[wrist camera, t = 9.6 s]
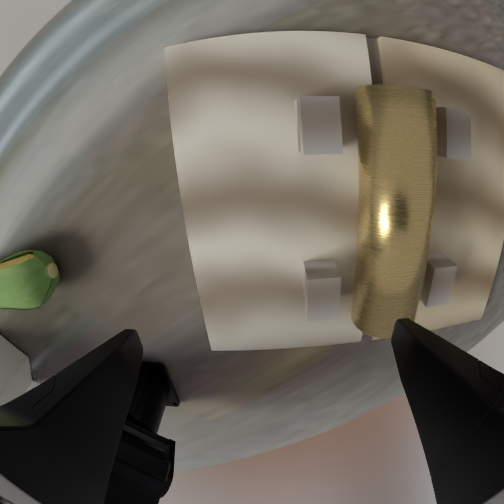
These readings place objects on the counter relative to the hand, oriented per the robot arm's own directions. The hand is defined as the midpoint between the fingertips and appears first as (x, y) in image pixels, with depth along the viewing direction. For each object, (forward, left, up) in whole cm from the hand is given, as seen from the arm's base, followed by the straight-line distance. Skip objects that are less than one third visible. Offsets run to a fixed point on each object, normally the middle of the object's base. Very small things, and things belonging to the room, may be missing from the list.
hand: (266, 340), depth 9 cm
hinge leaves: (+1, -7, -11) cm, 13 cm away
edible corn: (-3, +27, -11) cm, 29 cm away
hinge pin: (+2, -7, -10) cm, 12 cm away
